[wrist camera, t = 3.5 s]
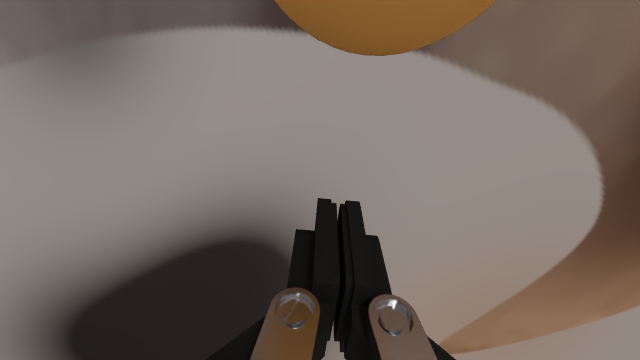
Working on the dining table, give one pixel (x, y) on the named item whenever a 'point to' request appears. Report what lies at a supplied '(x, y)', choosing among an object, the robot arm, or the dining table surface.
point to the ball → (381, 22)
